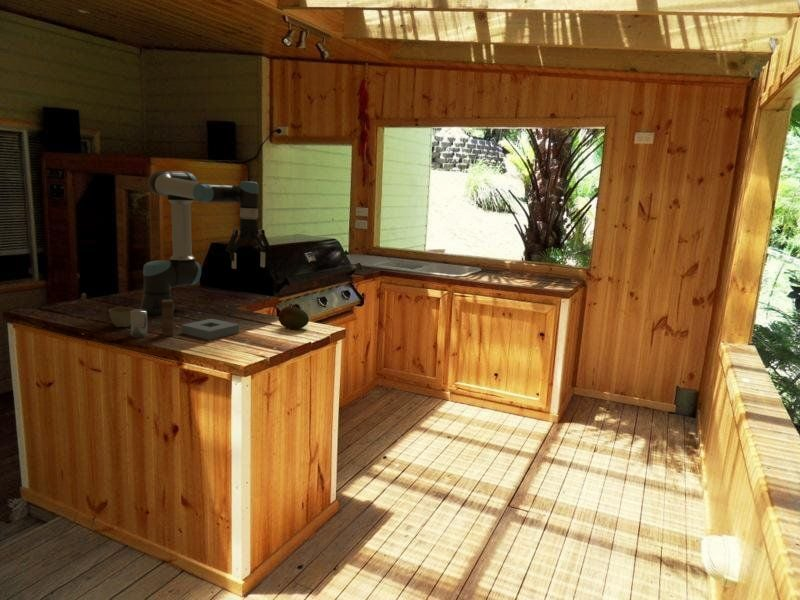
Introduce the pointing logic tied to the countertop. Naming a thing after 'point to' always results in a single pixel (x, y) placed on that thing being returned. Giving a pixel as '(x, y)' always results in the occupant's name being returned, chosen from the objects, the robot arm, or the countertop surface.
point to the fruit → (293, 318)
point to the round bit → (138, 323)
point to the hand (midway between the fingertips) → (248, 267)
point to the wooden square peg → (167, 318)
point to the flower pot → (121, 316)
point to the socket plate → (210, 329)
